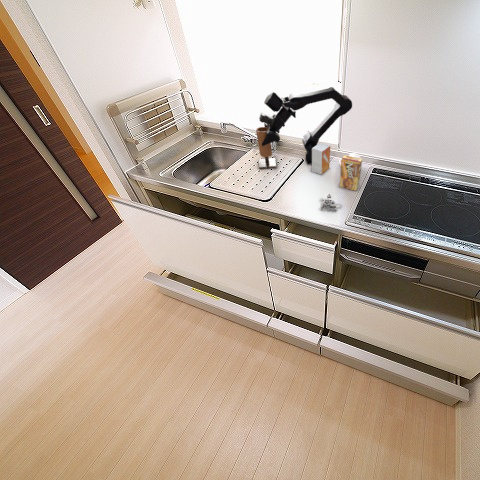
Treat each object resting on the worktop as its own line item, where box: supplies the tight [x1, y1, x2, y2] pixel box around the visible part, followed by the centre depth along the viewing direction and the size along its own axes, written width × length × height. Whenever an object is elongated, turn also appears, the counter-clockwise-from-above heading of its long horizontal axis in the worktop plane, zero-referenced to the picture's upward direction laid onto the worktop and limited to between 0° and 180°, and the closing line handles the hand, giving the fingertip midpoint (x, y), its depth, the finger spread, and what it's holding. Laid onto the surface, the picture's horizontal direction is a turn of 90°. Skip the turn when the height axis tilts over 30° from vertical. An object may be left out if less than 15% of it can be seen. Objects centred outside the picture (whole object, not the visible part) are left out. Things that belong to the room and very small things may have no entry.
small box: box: [311, 142, 331, 176], centre depth 135 cm, size 8×6×13 cm
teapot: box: [319, 193, 341, 212], centre depth 115 cm, size 9×9×8 cm
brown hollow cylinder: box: [255, 126, 273, 158], centre depth 132 cm, size 6×6×13 cm
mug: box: [338, 152, 362, 168], centre depth 136 cm, size 12×9×8 cm
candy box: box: [339, 155, 363, 192], centre depth 123 cm, size 9×4×15 cm, turn 68°
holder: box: [258, 157, 277, 170], centre depth 141 cm, size 9×9×6 cm
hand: (261, 142), depth 132 cm, fingers closed on brown hollow cylinder, 6 cm apart
